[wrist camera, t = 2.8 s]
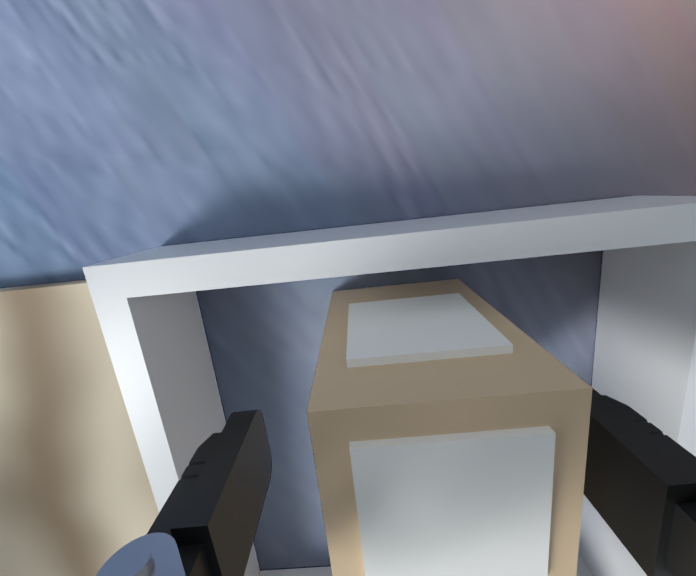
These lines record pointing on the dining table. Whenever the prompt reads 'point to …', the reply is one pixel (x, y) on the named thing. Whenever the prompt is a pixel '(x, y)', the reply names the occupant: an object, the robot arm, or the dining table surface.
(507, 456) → the labelled box
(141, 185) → the dining table surface
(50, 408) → the board
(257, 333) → the dining table surface
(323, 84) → the dining table surface
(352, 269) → the bin
